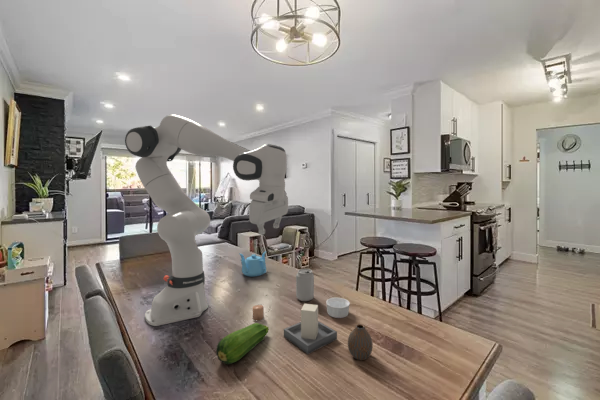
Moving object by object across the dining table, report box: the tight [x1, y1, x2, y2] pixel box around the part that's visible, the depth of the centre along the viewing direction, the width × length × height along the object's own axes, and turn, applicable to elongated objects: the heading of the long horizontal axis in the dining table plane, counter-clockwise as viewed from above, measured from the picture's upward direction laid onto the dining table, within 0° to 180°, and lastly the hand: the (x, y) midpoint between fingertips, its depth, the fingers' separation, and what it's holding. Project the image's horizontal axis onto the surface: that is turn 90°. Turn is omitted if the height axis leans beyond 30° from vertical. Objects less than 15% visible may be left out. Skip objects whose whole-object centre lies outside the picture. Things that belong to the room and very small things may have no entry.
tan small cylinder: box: [252, 304, 265, 322], centre depth 104 cm, size 4×4×4 cm
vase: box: [347, 324, 374, 361], centre depth 81 cm, size 7×7×9 cm
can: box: [295, 268, 315, 302], centre depth 120 cm, size 8×8×12 cm
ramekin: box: [325, 297, 351, 319], centre depth 107 cm, size 9×9×4 cm
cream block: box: [300, 303, 319, 340], centre depth 90 cm, size 4×4×9 cm
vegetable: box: [215, 322, 270, 365], centre depth 84 cm, size 7×7×20 cm
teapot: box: [238, 250, 267, 278], centre depth 152 cm, size 15×15×10 cm
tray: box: [283, 320, 338, 355], centre depth 90 cm, size 12×12×2 cm
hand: (269, 230), depth 100 cm, fingers open, 8 cm apart
